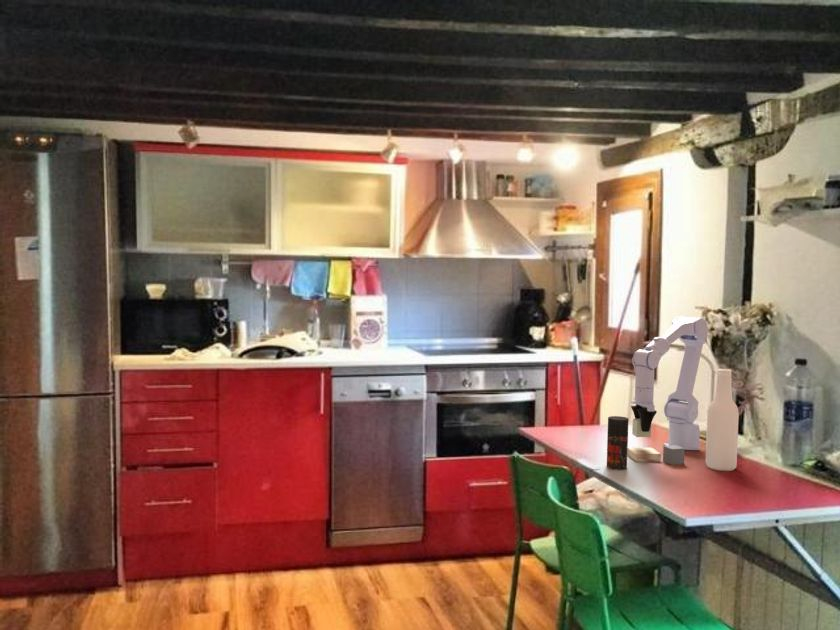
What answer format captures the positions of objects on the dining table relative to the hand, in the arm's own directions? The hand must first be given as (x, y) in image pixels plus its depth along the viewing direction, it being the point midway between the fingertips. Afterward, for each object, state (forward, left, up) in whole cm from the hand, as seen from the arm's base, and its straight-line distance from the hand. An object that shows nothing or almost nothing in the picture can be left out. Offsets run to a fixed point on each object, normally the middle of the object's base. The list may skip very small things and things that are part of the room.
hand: (642, 429), depth 244 cm
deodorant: (+12, +14, -9) cm, 20 cm away
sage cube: (0, 0, -2) cm, 2 cm away
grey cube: (-7, +8, -9) cm, 14 cm away
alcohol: (-20, +14, -9) cm, 26 cm away
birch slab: (0, +3, -9) cm, 9 cm away
